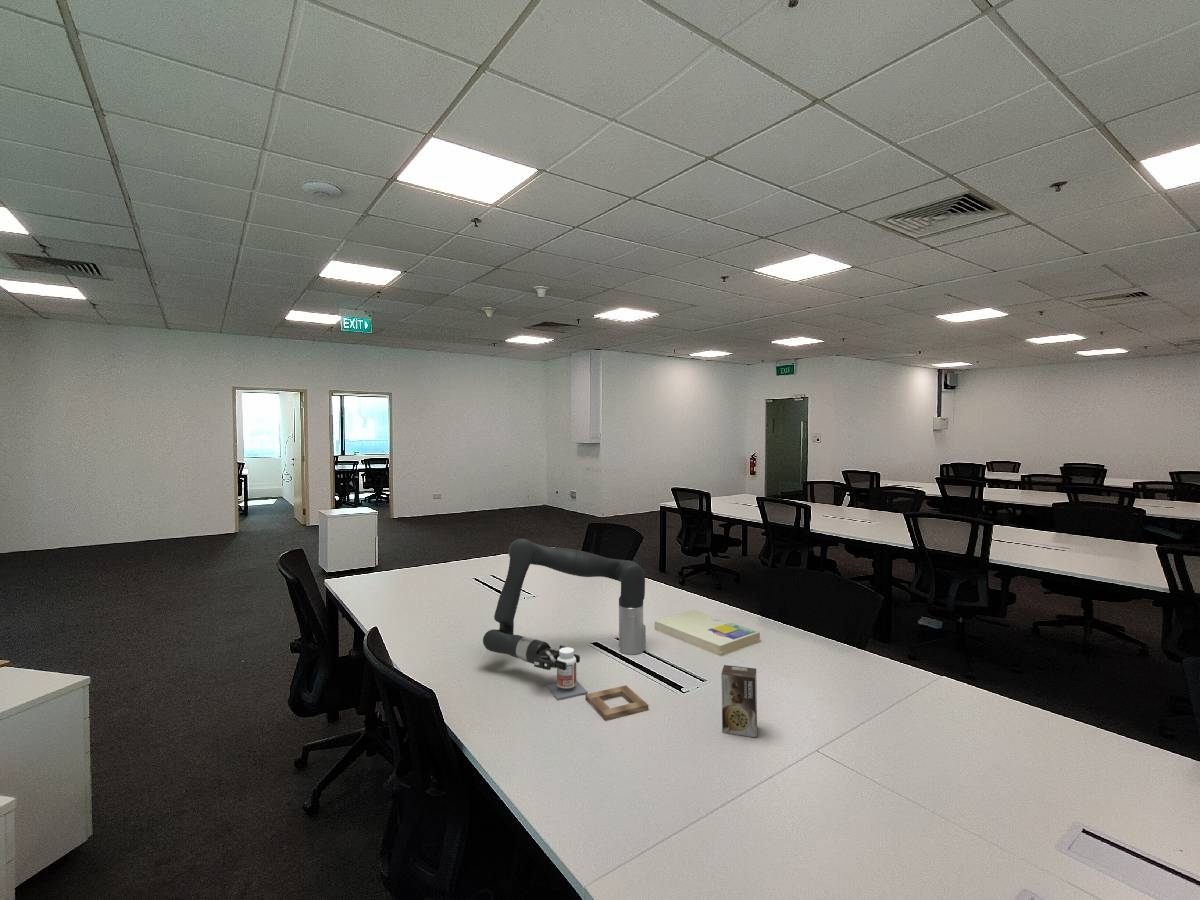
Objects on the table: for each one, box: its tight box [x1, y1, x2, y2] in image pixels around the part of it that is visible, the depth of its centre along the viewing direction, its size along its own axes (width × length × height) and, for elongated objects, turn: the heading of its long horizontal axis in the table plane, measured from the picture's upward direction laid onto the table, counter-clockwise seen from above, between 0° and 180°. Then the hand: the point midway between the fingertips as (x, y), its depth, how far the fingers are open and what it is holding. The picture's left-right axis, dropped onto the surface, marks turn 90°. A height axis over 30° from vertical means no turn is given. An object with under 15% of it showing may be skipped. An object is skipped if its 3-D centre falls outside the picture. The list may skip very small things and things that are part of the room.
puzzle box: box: [654, 609, 761, 657], centre depth 216 cm, size 36×5×24 cm
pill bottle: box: [556, 646, 577, 689], centre depth 169 cm, size 6×6×11 cm
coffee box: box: [720, 664, 758, 738], centre depth 145 cm, size 9×6×16 cm
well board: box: [585, 685, 649, 722], centre depth 159 cm, size 14×14×2 cm
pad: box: [546, 679, 589, 701], centre depth 169 cm, size 10×10×1 cm
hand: (572, 662), depth 167 cm, fingers closed on pill bottle, 6 cm apart
